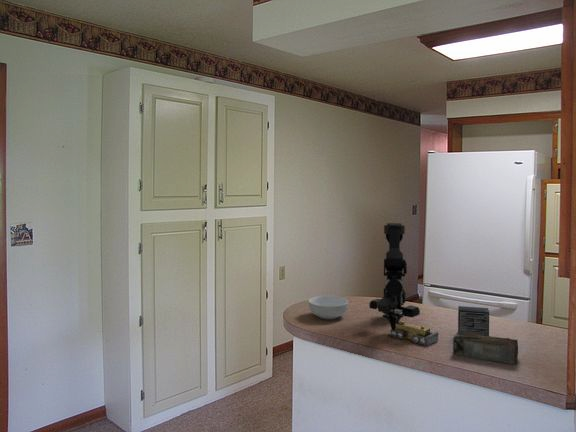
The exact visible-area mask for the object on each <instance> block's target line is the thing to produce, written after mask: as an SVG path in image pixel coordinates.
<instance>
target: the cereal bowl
mask: <svg viewBox="0 0 576 432" xmlns="http://www.w3.org/2000/svg"><path fill="white" fill-rule="evenodd" d="M308 308H309V311H310V312H311V313H312V314H313V315H314V316H317V317H319V318H320V319H322V320H335V319H337V318H338V317H341V316H344V314H345V313H347V311H348V310H349V300H348V299H347V298H345V297H343V296H342V297H341V296H336V295H318V296H314V297H312V298H311V297H310V298H309V299H308Z"/></svg>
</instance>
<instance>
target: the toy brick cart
mask: <svg viewBox="0 0 576 432" xmlns="http://www.w3.org/2000/svg"><path fill="white" fill-rule="evenodd" d="M390 337H393V338H395V339H401V340H404V339H405V338H404V332H402V331H398V330H396V329H395V330H394V329H392V328H391V329H390ZM436 342H439V331H434V332H432V331H430V335H429V336H426V337H422V336H418V335H413V340H412V343H416V344H417V345H418V344H419V345H423V346H425V347H429V346H431V345H432V344H435V343H436Z"/></svg>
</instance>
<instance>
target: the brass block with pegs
mask: <svg viewBox="0 0 576 432" xmlns="http://www.w3.org/2000/svg"><path fill="white" fill-rule="evenodd" d="M395 330H398V331H402V332H404V339H408V340H412V341H413V335H418V336H422V337H426V336H429V335H430V332H431V328H429V327H425V325H417V324H412V323H408V322H405V320H402V321H399V323H396V329H395Z"/></svg>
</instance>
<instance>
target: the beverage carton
mask: <svg viewBox="0 0 576 432" xmlns="http://www.w3.org/2000/svg"><path fill="white" fill-rule="evenodd" d="M518 344H519V343H518V339H514V338H510V337H499V336H490V335H489V336H483V335H476V334H468V333H462V332H458V331H457V332H456V334H455V335H454V337H453V338H452V354H453V355H455V356H461V357H467V358H472V359H479V360H484V361H491V362H498V363H503V364H510V365H516V363H517V359H518V357H519V345H518Z"/></svg>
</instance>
